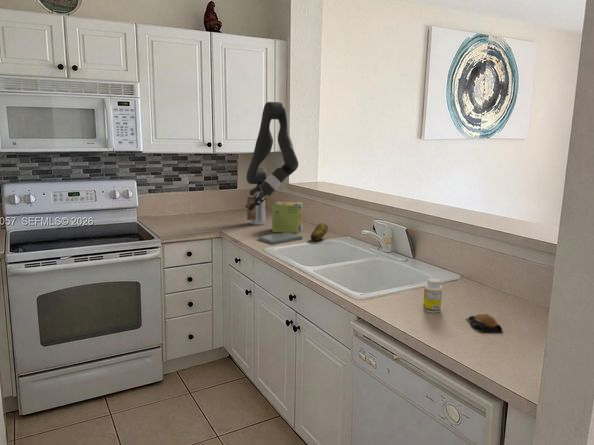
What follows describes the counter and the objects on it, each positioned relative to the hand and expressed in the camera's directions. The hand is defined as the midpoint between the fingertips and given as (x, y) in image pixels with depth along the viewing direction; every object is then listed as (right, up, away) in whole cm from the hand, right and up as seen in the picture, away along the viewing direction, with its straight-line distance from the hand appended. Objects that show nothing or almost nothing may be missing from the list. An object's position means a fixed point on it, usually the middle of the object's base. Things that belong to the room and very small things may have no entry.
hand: (247, 208), depth 251 cm
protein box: (+20, -12, +22) cm, 32 cm away
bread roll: (+82, -39, -106) cm, 139 cm away
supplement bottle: (+69, -36, -94) cm, 122 cm away
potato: (+37, -16, +1) cm, 40 cm away
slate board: (+17, -16, 0) cm, 23 cm away
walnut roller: (+2, -5, +2) cm, 6 cm away
